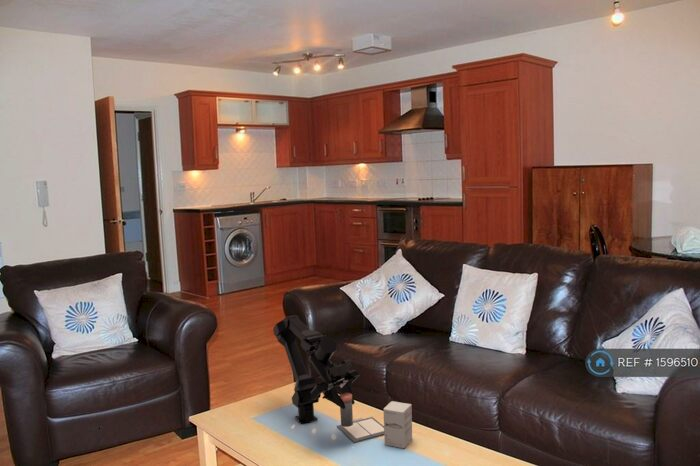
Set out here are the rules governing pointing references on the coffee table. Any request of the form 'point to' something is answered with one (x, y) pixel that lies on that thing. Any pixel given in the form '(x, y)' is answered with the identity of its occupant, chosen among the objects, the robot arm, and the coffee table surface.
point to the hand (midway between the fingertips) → (349, 406)
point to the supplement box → (398, 424)
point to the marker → (346, 410)
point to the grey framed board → (363, 429)
